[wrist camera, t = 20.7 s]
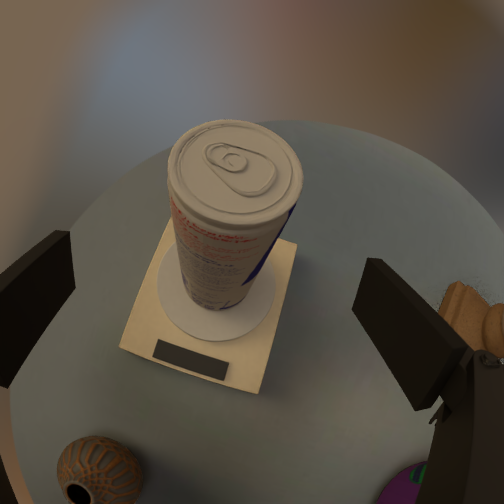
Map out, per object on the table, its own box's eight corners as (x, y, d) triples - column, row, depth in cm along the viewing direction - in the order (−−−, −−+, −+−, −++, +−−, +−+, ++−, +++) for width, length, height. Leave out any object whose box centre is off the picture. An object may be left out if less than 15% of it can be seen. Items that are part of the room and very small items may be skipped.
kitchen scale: (124, 349, 25) (115, 346, 22) (177, 216, 30) (175, 200, 28) (253, 393, 25) (259, 395, 22) (291, 253, 31) (300, 240, 28)
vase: (65, 459, 19) (20, 482, 11) (103, 415, 22) (64, 429, 14) (122, 508, 18) (95, 549, 10) (163, 466, 21) (148, 503, 13)
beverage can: (253, 310, 25) (318, 225, 11) (183, 313, 24) (161, 227, 10) (247, 246, 27) (293, 119, 13) (182, 248, 26) (170, 115, 12)
